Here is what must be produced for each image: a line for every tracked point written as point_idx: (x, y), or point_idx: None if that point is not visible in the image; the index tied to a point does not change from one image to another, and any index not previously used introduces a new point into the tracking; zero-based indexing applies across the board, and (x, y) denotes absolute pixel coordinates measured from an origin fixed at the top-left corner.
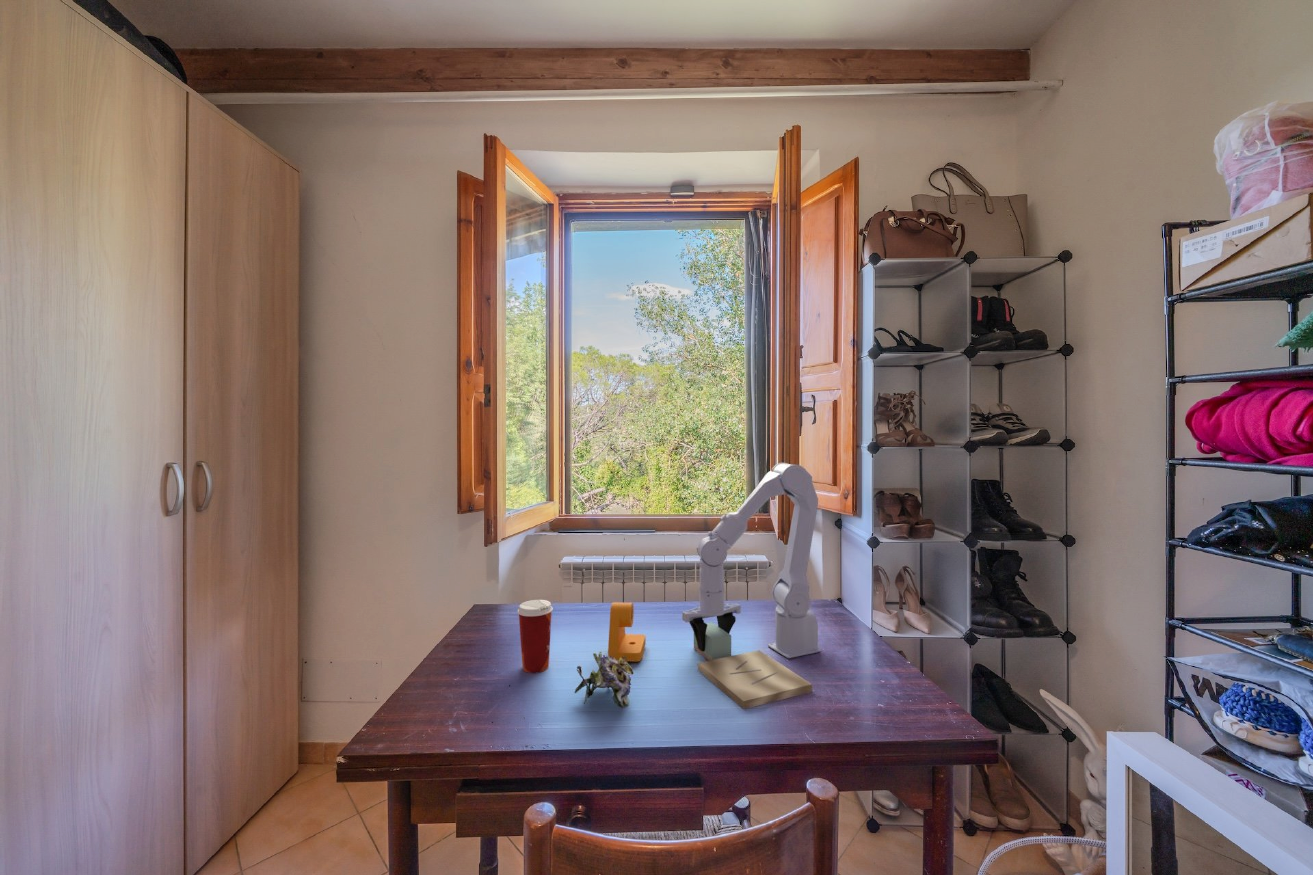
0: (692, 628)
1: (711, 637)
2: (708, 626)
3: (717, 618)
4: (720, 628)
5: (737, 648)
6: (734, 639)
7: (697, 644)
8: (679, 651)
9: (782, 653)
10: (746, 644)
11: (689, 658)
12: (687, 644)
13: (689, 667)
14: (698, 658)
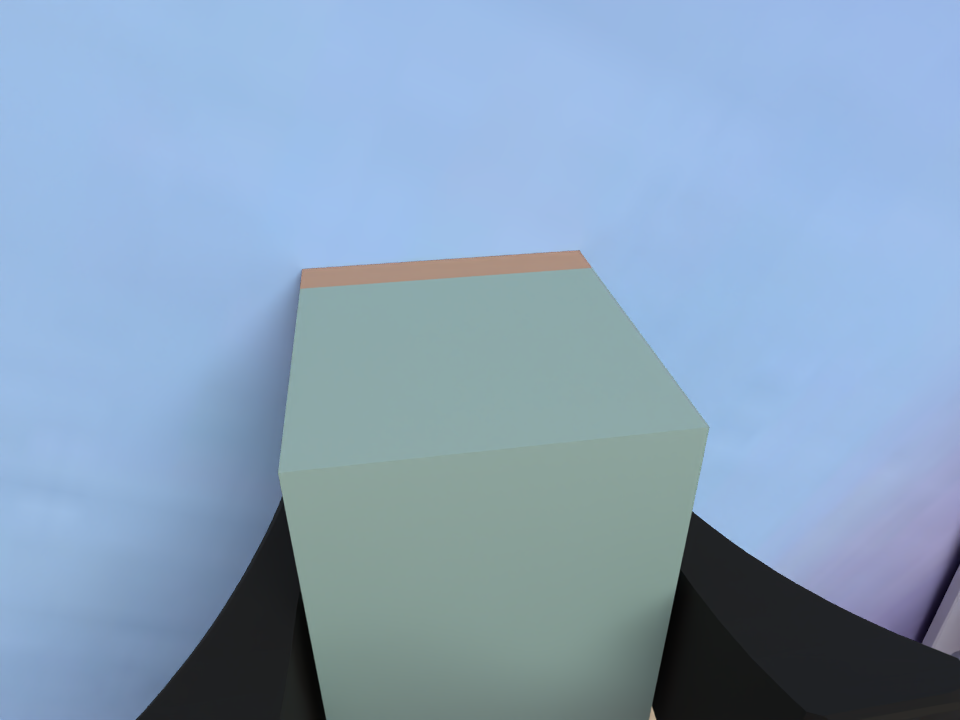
0: (161, 698)
1: None
2: (531, 567)
3: (750, 677)
4: (651, 660)
5: (757, 416)
6: (917, 194)
7: (276, 511)
8: (67, 300)
9: (943, 625)
10: (903, 360)
11: (157, 494)
12: (254, 113)
13: (106, 640)
14: (259, 513)
